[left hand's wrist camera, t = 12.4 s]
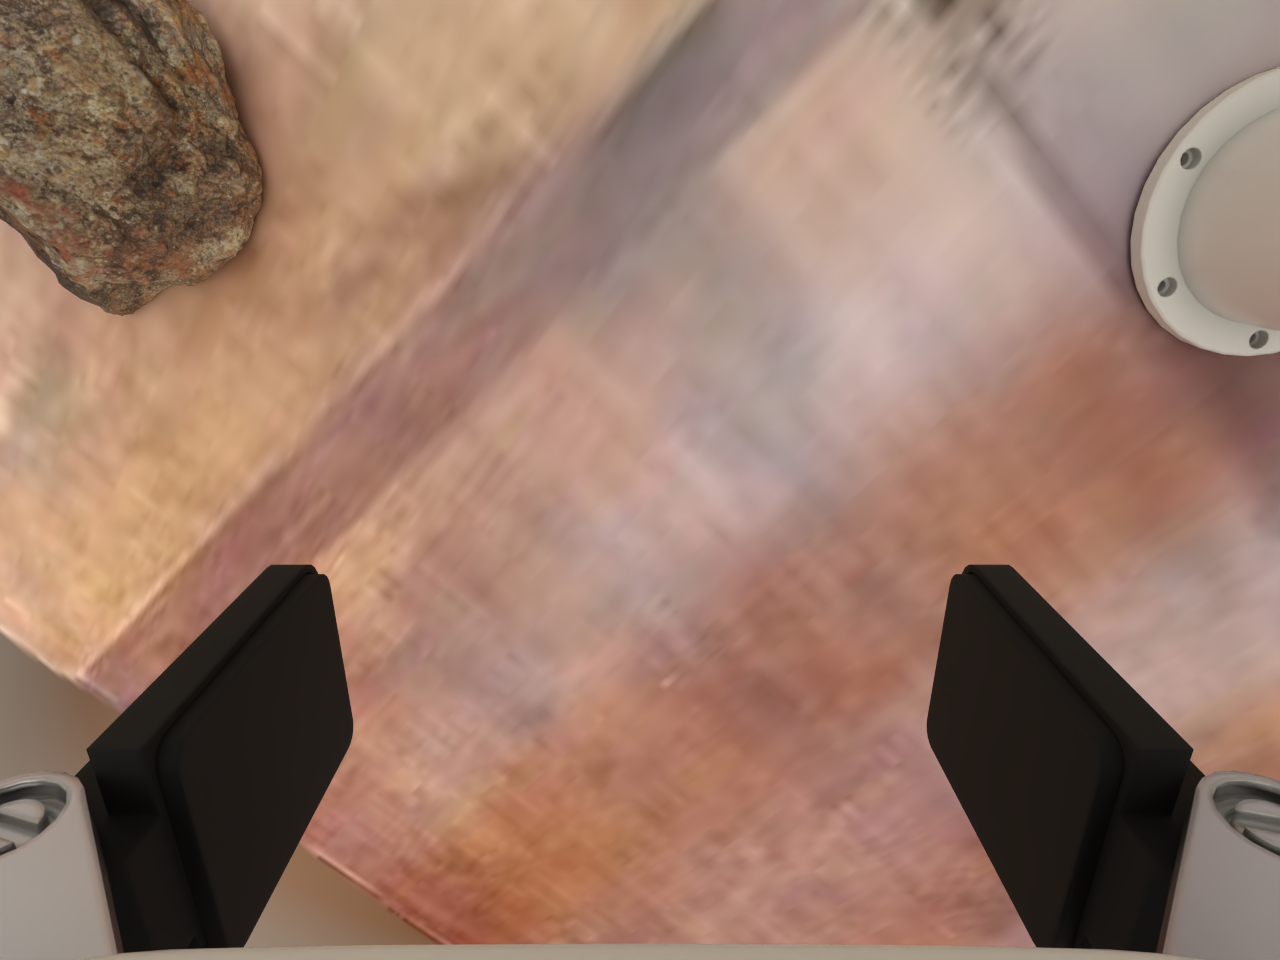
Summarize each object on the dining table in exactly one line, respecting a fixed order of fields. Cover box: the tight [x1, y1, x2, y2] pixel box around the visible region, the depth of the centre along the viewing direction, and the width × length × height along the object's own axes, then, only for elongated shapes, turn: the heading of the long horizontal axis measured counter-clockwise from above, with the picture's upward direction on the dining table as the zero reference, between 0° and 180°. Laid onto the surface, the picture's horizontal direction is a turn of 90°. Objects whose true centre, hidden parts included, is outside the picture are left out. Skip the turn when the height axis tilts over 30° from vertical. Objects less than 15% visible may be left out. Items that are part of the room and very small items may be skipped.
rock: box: [0, 0, 263, 316], centre depth 31 cm, size 14×9×10 cm
